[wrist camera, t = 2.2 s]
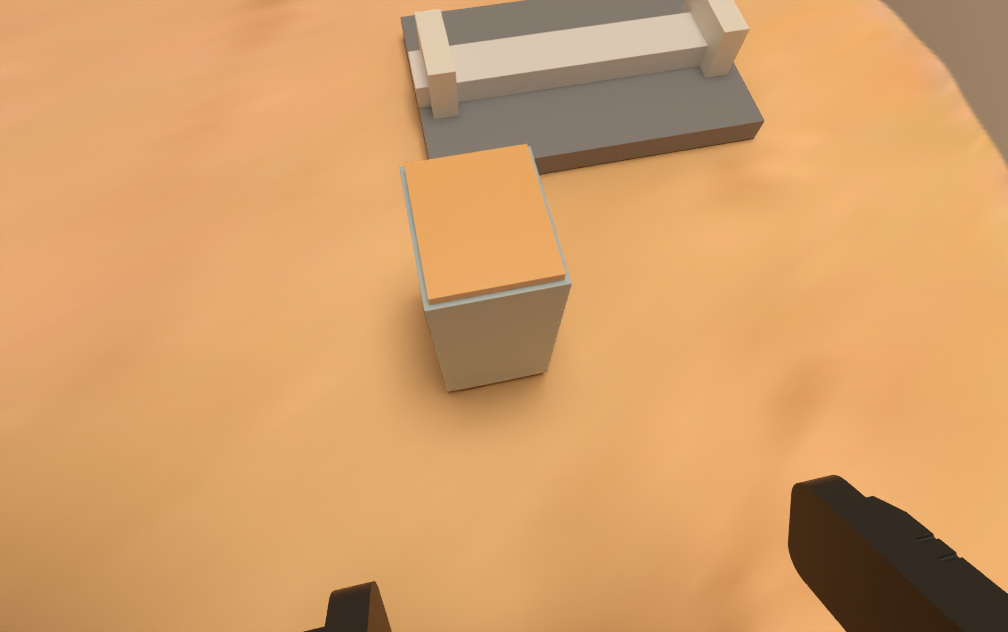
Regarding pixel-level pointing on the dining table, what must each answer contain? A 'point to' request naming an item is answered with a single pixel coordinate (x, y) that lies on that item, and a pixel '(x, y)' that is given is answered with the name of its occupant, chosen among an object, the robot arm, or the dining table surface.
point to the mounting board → (587, 105)
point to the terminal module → (486, 263)
